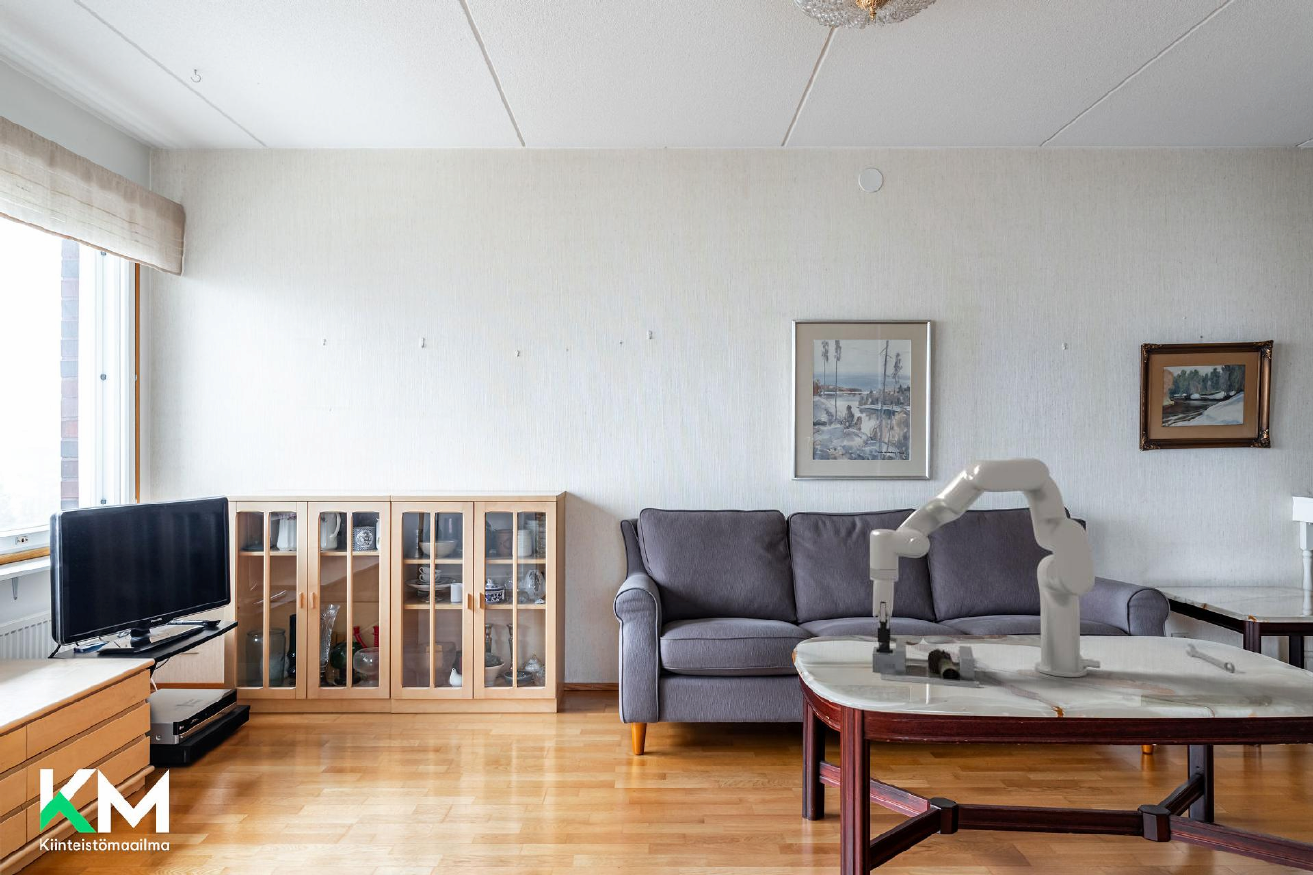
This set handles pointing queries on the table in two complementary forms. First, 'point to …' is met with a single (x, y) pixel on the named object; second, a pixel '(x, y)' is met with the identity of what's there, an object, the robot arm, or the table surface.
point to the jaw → (966, 663)
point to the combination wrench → (1209, 658)
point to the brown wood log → (943, 665)
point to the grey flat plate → (927, 679)
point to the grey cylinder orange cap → (885, 645)
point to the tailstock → (890, 659)
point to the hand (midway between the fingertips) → (884, 640)
